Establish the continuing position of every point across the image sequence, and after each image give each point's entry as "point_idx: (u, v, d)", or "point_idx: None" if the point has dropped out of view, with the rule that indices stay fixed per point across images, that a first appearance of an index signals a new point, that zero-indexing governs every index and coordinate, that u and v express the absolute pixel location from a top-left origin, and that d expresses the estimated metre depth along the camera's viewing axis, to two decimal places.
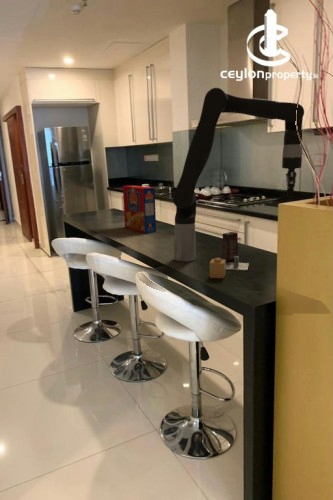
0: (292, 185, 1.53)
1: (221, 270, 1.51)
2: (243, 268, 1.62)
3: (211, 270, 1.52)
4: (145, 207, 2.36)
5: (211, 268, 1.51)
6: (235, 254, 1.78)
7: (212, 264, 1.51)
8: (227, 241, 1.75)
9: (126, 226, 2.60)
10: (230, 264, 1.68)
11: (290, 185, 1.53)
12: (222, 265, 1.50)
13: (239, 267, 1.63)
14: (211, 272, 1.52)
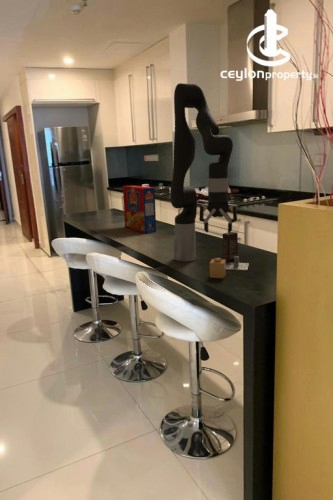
0: None
1: (221, 270, 1.51)
2: (243, 268, 1.62)
3: (211, 270, 1.52)
4: (145, 207, 2.36)
5: (211, 268, 1.51)
6: (235, 254, 1.78)
7: (212, 264, 1.51)
8: (227, 241, 1.75)
9: (126, 226, 2.60)
10: (230, 264, 1.68)
11: None
12: (222, 265, 1.50)
13: (239, 267, 1.63)
14: (211, 272, 1.52)
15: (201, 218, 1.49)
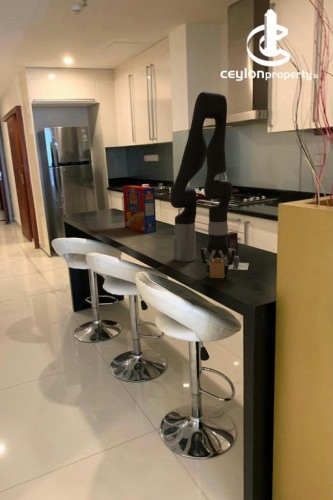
0: None
1: (221, 270, 1.51)
2: (243, 268, 1.62)
3: (211, 270, 1.52)
4: (145, 207, 2.36)
5: (211, 268, 1.51)
6: (235, 254, 1.78)
7: (212, 264, 1.51)
8: None
9: (126, 226, 2.60)
10: None
11: None
12: (222, 265, 1.50)
13: (239, 267, 1.63)
14: (211, 272, 1.52)
15: (204, 260, 1.53)
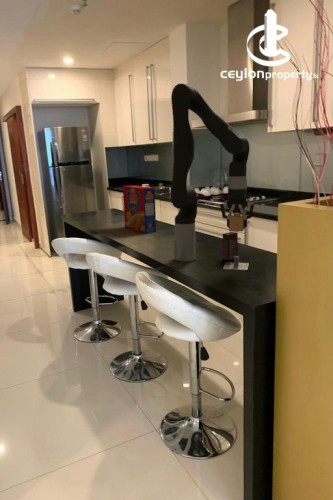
0: None
1: (240, 223, 1.58)
2: (243, 268, 1.62)
3: (231, 224, 1.59)
4: (145, 207, 2.36)
5: (231, 222, 1.59)
6: (235, 254, 1.78)
7: (232, 218, 1.59)
8: (227, 241, 1.75)
9: (126, 226, 2.60)
10: (230, 264, 1.68)
11: (251, 216, 1.59)
12: (241, 218, 1.58)
13: (239, 267, 1.63)
14: (230, 225, 1.60)
15: (224, 215, 1.61)
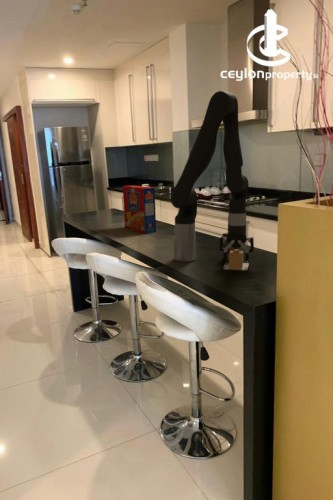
0: None
1: (239, 260, 1.62)
2: (243, 268, 1.62)
3: (230, 260, 1.63)
4: (145, 207, 2.36)
5: (230, 258, 1.63)
6: None
7: (231, 255, 1.62)
8: (227, 241, 1.75)
9: (126, 226, 2.60)
10: None
11: None
12: (240, 256, 1.61)
13: None
14: (230, 262, 1.63)
15: (221, 248, 1.65)
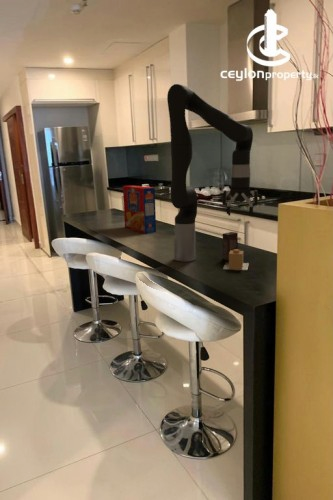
0: (257, 203, 1.58)
1: (239, 260, 1.62)
2: (243, 268, 1.62)
3: (230, 260, 1.63)
4: (145, 207, 2.36)
5: (230, 258, 1.63)
6: None
7: (231, 255, 1.62)
8: (227, 241, 1.75)
9: (126, 226, 2.60)
10: None
11: (257, 203, 1.58)
12: (240, 256, 1.61)
13: None
14: (230, 262, 1.63)
15: (224, 202, 1.60)
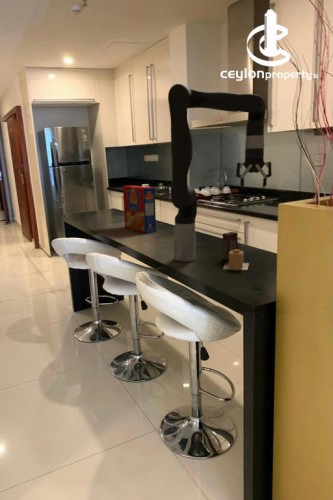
0: (271, 174, 1.59)
1: (239, 260, 1.62)
2: (243, 268, 1.62)
3: (230, 260, 1.63)
4: (145, 207, 2.36)
5: (230, 258, 1.63)
6: None
7: (231, 255, 1.62)
8: (227, 241, 1.75)
9: (126, 226, 2.60)
10: None
11: None
12: (240, 256, 1.61)
13: None
14: (230, 262, 1.63)
15: (238, 174, 1.61)
